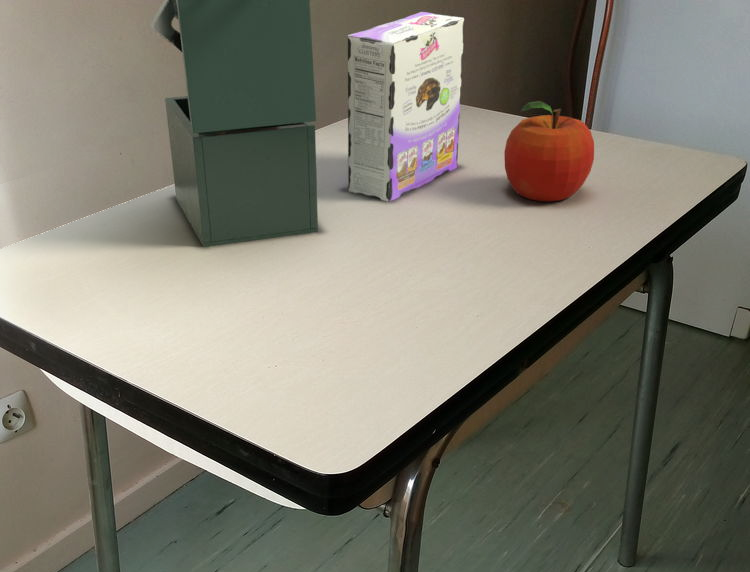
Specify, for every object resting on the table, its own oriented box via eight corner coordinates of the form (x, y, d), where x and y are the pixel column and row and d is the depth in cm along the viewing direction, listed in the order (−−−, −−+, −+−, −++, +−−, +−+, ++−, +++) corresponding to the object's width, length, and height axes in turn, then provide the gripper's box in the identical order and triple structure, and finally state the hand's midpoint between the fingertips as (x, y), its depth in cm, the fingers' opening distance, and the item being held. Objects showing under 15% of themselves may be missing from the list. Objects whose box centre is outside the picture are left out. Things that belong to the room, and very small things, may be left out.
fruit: (597, 212, 106) (610, 114, 100) (507, 212, 106) (515, 115, 100) (579, 180, 114) (591, 88, 108) (495, 181, 114) (502, 88, 108)
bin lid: (170, -45, 84) (182, -42, 80) (304, -52, 87) (321, -49, 83) (191, 131, 91) (202, 142, 87) (313, 119, 94) (330, 129, 90)
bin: (176, 202, 108) (164, 97, 101) (281, 190, 111) (276, 87, 104) (204, 251, 97) (192, 137, 91) (318, 235, 101) (315, 125, 94)
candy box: (416, 161, 119) (421, 9, 109) (458, 171, 116) (467, 16, 106) (345, 194, 110) (344, 32, 100) (389, 206, 107) (392, 40, 97)
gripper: (303, -124, 92) (310, 85, 102) (114, -118, 87) (142, 101, 98) (329, -115, 86) (333, 106, 97) (128, -108, 81) (156, 123, 92)
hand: (237, 101), depth 97 cm, fingers closed on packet, 5 cm apart
